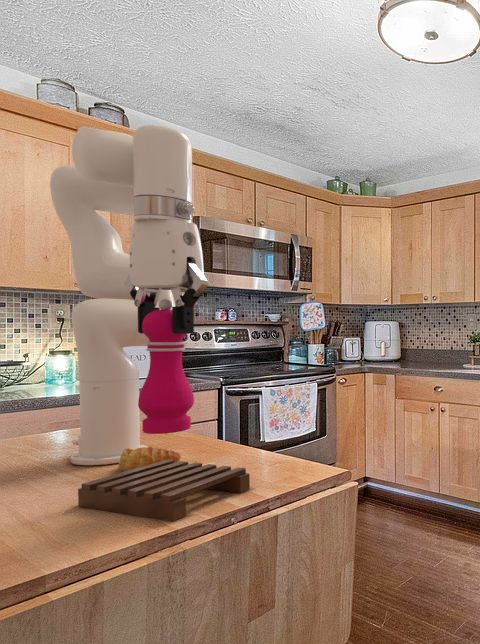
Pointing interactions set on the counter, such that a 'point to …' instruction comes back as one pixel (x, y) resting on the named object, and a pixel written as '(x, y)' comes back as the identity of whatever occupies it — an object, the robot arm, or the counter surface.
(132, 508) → the rack
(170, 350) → the pepper mill
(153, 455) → the pastry
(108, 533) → the counter surface
